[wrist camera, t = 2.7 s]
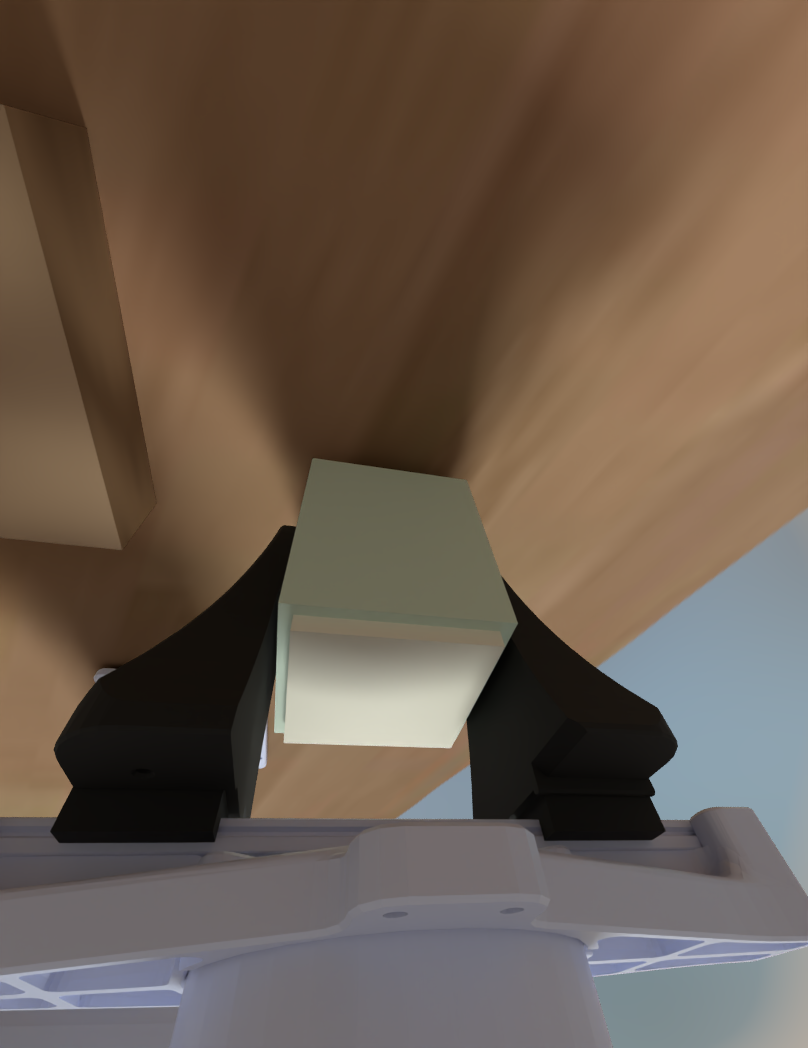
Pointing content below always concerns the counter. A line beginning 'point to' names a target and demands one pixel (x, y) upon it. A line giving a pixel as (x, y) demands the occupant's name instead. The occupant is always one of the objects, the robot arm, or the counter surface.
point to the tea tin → (386, 610)
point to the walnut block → (63, 350)
